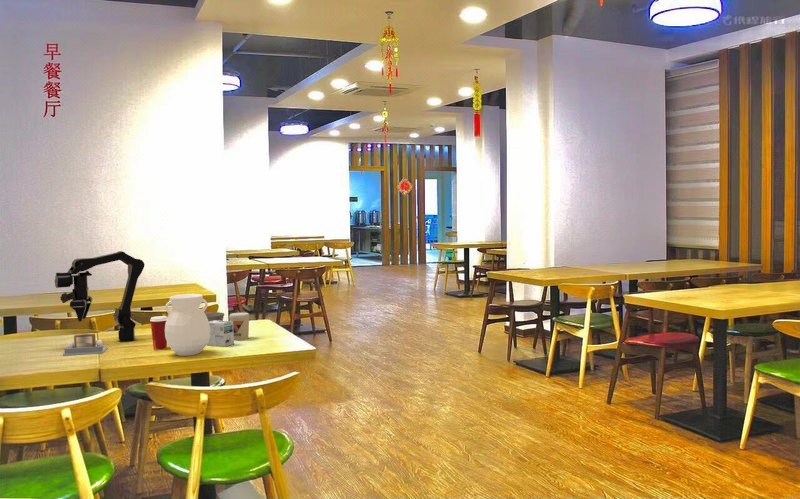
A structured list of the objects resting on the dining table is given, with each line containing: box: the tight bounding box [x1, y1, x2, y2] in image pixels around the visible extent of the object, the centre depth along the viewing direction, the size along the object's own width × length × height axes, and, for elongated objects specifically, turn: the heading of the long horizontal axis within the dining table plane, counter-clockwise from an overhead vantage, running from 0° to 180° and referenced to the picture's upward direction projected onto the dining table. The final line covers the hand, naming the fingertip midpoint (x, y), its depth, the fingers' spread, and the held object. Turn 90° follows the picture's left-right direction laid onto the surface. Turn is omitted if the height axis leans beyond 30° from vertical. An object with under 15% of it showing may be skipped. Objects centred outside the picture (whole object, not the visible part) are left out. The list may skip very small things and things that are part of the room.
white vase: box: [164, 293, 210, 357], centre depth 289 cm, size 19×18×25 cm
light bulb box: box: [206, 320, 235, 348], centre depth 308 cm, size 11×7×11 cm, turn 65°
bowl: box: [204, 311, 225, 321], centre depth 338 cm, size 21×21×10 cm
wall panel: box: [62, 339, 108, 357], centre depth 298 cm, size 16×11×5 cm
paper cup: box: [149, 315, 168, 351], centre depth 303 cm, size 8×8×14 cm
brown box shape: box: [73, 333, 97, 348], centre depth 297 cm, size 8×3×7 cm, turn 105°
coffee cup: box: [228, 312, 250, 341], centre depth 322 cm, size 9×9×12 cm
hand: (82, 319), depth 312 cm, fingers open, 9 cm apart
